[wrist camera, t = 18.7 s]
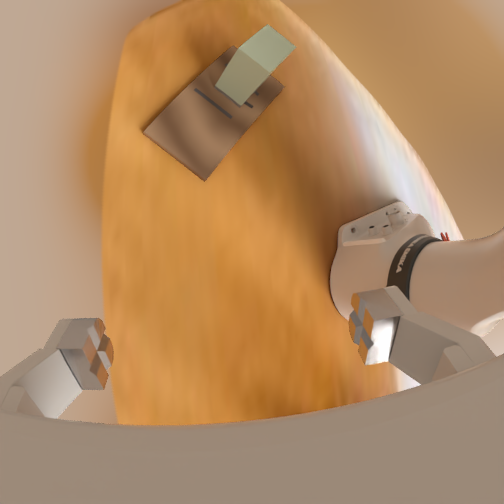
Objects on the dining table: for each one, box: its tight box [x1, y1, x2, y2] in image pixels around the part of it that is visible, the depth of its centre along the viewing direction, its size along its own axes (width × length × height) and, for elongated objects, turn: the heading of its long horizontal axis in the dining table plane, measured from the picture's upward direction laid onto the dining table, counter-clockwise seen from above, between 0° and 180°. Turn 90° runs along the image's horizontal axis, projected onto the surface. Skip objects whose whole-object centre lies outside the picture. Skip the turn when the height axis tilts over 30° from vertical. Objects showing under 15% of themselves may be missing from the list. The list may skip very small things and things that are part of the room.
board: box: [143, 46, 284, 182], centre depth 40 cm, size 19×10×1 cm, turn 145°
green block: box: [214, 24, 296, 108], centre depth 36 cm, size 6×4×10 cm
